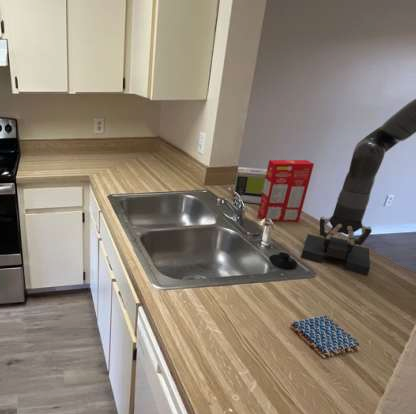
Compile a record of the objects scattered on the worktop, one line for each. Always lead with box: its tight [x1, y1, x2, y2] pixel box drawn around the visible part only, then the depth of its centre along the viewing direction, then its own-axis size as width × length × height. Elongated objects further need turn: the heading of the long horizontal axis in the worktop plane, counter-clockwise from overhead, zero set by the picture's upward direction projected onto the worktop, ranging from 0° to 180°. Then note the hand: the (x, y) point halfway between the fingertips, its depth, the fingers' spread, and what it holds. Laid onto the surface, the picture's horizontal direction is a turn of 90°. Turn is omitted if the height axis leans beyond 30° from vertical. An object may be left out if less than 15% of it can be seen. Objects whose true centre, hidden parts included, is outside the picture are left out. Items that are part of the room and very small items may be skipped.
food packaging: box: [257, 159, 315, 223], centre depth 135 cm, size 15×5×25 cm, turn 88°
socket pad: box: [300, 233, 371, 276], centre depth 112 cm, size 18×14×3 cm
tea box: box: [233, 166, 267, 205], centre depth 157 cm, size 15×10×15 cm, turn 69°
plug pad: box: [325, 236, 349, 261], centre depth 109 cm, size 5×9×3 cm, turn 144°
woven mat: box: [289, 315, 360, 359], centre depth 79 cm, size 10×11×2 cm
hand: (336, 250), depth 110 cm, fingers closed on plug pad, 5 cm apart
